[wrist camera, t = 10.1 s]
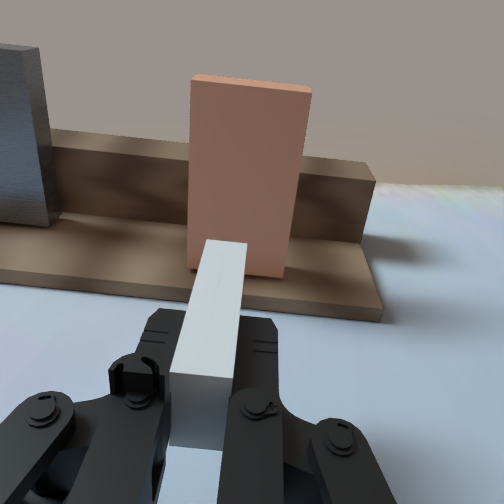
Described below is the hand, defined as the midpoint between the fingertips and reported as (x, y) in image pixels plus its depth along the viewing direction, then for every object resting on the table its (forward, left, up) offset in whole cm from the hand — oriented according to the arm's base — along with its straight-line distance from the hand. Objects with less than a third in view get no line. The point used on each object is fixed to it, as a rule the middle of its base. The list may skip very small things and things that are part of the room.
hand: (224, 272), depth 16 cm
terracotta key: (0, -10, -6) cm, 11 cm away
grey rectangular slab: (+16, -13, -6) cm, 21 cm away
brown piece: (+8, -13, -7) cm, 17 cm away
